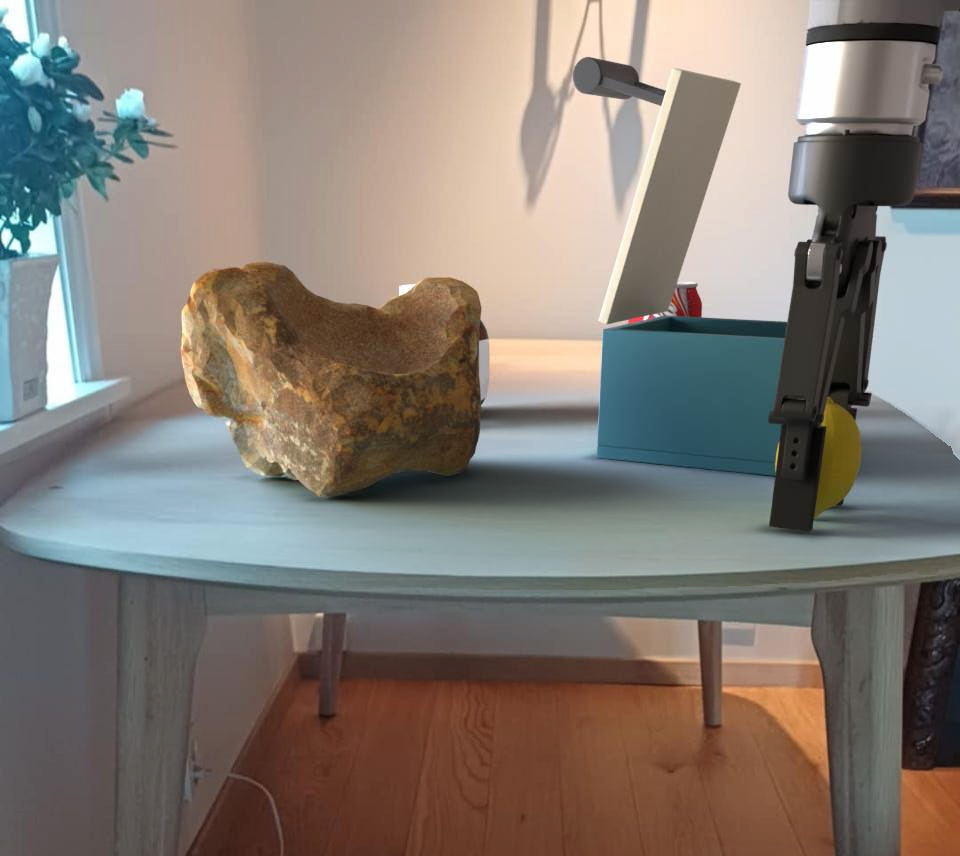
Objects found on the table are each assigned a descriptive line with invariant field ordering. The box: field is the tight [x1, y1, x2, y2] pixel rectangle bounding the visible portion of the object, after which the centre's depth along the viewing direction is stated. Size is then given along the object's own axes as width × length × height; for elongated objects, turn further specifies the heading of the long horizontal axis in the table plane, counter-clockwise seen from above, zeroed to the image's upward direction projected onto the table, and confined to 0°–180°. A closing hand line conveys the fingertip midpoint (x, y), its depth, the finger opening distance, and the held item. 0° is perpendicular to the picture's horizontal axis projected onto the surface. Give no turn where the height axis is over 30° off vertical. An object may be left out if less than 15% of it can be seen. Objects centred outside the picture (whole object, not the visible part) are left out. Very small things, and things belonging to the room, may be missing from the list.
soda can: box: [627, 280, 703, 324], centre depth 122 cm, size 7×7×12 cm
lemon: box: [775, 397, 862, 519], centre depth 84 cm, size 6×6×8 cm
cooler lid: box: [572, 56, 742, 325], centre depth 102 cm, size 18×14×10 cm
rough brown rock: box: [180, 261, 483, 499], centre depth 92 cm, size 23×17×15 cm
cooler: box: [596, 316, 806, 477], centre depth 105 cm, size 17×14×10 cm
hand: (807, 514), depth 86 cm, fingers open, 8 cm apart
